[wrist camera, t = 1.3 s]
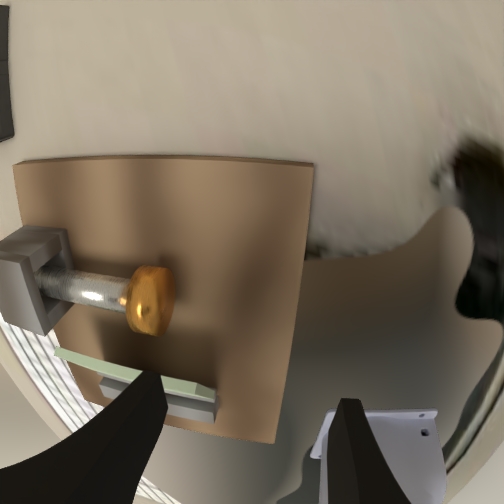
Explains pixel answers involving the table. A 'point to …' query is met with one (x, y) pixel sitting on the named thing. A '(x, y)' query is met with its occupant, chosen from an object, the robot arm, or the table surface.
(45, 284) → the pin
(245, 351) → the board
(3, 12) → the disk drive
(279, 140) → the table surface
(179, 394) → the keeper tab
